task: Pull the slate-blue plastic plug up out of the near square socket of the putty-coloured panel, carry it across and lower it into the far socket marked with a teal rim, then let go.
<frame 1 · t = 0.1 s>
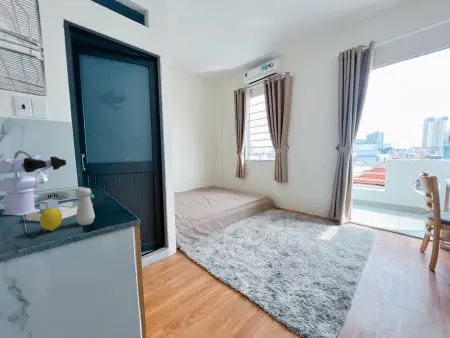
hand: (55, 163, 79), 22 cm above the countertop, tool horizontal, fingers open, 7 cm apart
lemon: (52, 231, 66), on the countertop
salt shaker: (85, 223, 73), on the countertop
plug: (50, 217, 79), resting in panel
panel: (62, 213, 83), on the countertop
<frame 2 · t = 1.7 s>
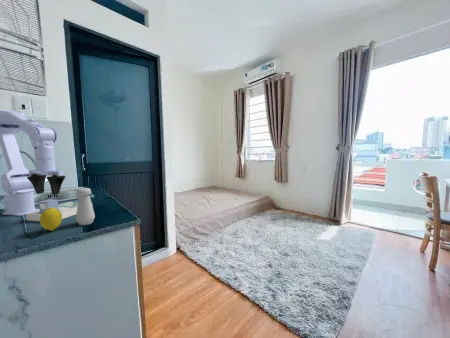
hand: (48, 193, 78), 10 cm above the countertop, tool pointing down, fingers open, 7 cm apart
nothing on the countertop moved.
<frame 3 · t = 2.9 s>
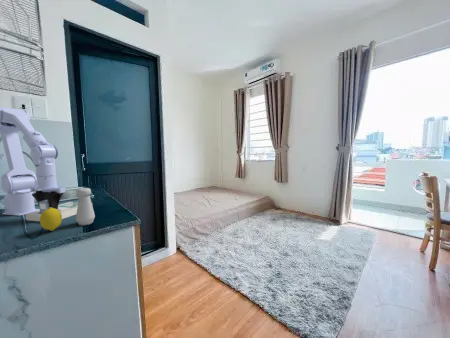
hand: (49, 209, 78), 3 cm above the countertop, tool pointing down, fingers closed on plug, 4 cm apart
plug: (49, 217, 79), resting in panel, touching gripper
everything else where it was.
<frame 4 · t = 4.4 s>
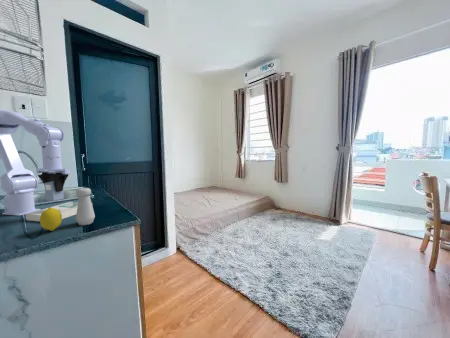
hand: (54, 191, 80), 10 cm above the countertop, tool pointing down, fingers closed on plug, 4 cm apart
plug: (55, 199, 80), point 7 cm above the countertop, touching gripper
everything else where it was.
when the fingers open (4 cm above the countertop, at t = 6.3 s): plug drops 1 cm, resting in panel.
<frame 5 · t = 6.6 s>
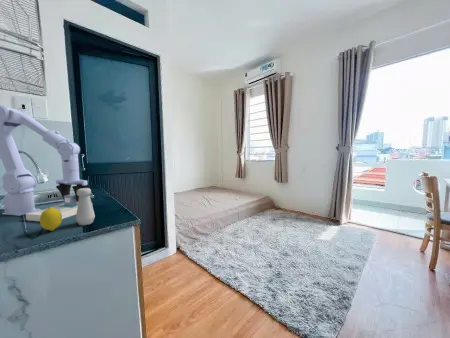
hand: (73, 200, 88), 4 cm above the countertop, tool pointing down, fingers open, 6 cm apart
plug: (73, 210, 88), resting in panel
everything else where it was.
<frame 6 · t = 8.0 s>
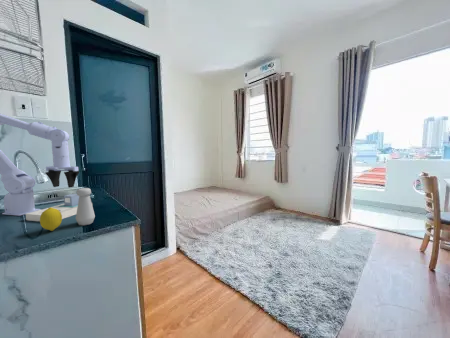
hand: (63, 186, 90), 10 cm above the countertop, tool pointing down, fingers open, 7 cm apart
nothing on the countertop moved.
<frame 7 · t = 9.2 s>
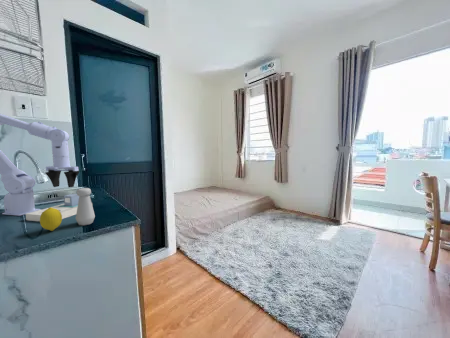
hand: (63, 186, 90), 10 cm above the countertop, tool pointing down, fingers open, 7 cm apart
nothing on the countertop moved.
at the end: plug 0.3 cm from the target spot on the panel, point 0.0 cm above the panel's base; plug tilted 0°; the gripper is holding nothing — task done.
